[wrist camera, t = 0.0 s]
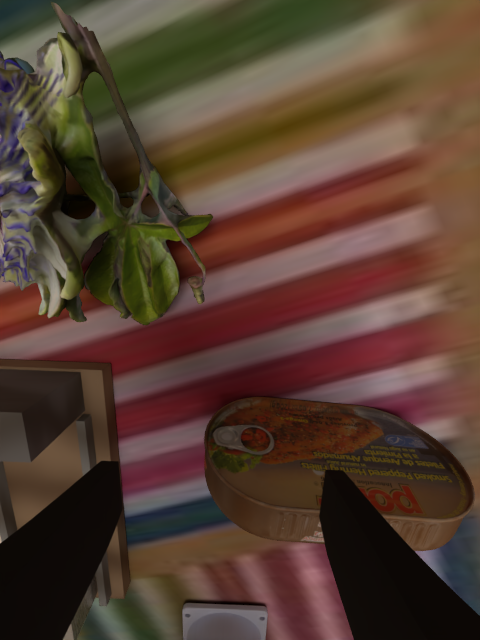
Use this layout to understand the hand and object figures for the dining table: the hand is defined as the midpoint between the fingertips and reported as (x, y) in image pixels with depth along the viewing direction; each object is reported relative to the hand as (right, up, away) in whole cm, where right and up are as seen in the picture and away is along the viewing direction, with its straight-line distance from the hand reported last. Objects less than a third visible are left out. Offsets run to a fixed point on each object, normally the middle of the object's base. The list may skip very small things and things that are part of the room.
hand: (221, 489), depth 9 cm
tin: (+6, -2, +11) cm, 13 cm away
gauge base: (-14, -8, +12) cm, 20 cm away
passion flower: (-7, +12, +8) cm, 16 cm away
